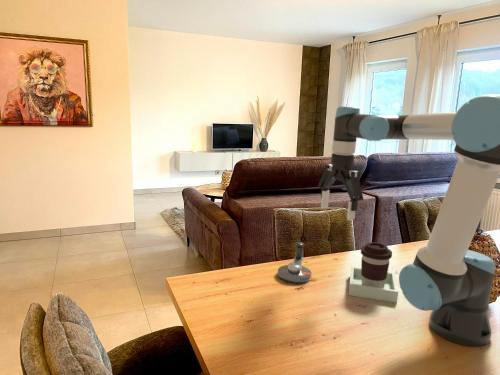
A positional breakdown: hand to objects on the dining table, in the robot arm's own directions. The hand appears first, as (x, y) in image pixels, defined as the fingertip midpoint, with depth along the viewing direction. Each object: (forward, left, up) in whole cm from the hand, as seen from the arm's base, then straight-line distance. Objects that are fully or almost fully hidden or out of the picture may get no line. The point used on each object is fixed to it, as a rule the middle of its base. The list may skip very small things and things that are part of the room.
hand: (336, 213), depth 131 cm
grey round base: (-4, +13, -24) cm, 28 cm away
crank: (+1, +13, -22) cm, 26 cm away
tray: (-4, -14, -24) cm, 28 cm away
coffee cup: (-4, -14, -24) cm, 28 cm away
